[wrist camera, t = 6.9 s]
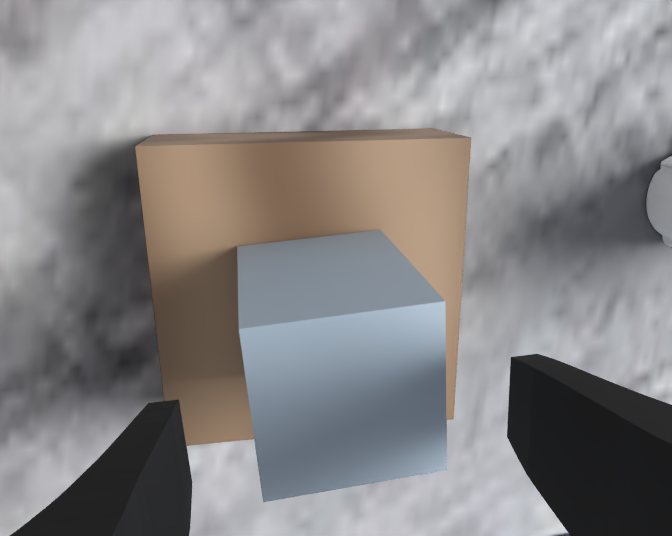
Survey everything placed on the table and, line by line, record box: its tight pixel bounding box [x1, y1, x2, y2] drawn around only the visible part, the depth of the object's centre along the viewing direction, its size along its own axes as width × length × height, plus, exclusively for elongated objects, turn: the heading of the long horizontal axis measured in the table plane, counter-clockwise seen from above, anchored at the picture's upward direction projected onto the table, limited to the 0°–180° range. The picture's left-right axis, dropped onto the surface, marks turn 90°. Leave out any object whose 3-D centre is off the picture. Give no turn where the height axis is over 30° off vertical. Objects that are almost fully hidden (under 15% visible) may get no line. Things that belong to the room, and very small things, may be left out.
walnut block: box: [135, 129, 471, 446], centre depth 21 cm, size 10×10×4 cm
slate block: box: [237, 230, 447, 502], centre depth 16 cm, size 4×4×6 cm
